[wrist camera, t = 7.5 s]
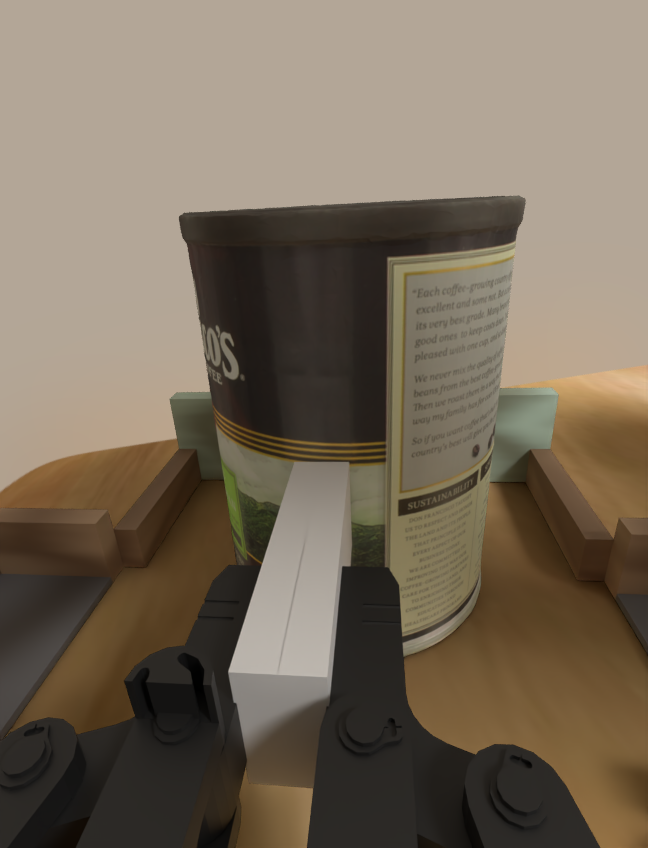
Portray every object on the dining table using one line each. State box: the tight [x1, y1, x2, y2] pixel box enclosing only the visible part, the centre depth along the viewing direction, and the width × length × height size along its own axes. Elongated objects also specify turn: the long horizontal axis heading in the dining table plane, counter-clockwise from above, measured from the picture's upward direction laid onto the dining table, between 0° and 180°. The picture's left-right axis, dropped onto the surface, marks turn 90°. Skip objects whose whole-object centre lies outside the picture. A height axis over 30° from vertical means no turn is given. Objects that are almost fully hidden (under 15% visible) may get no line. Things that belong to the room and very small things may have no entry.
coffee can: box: [179, 196, 525, 657], centre depth 18 cm, size 10×10×14 cm
